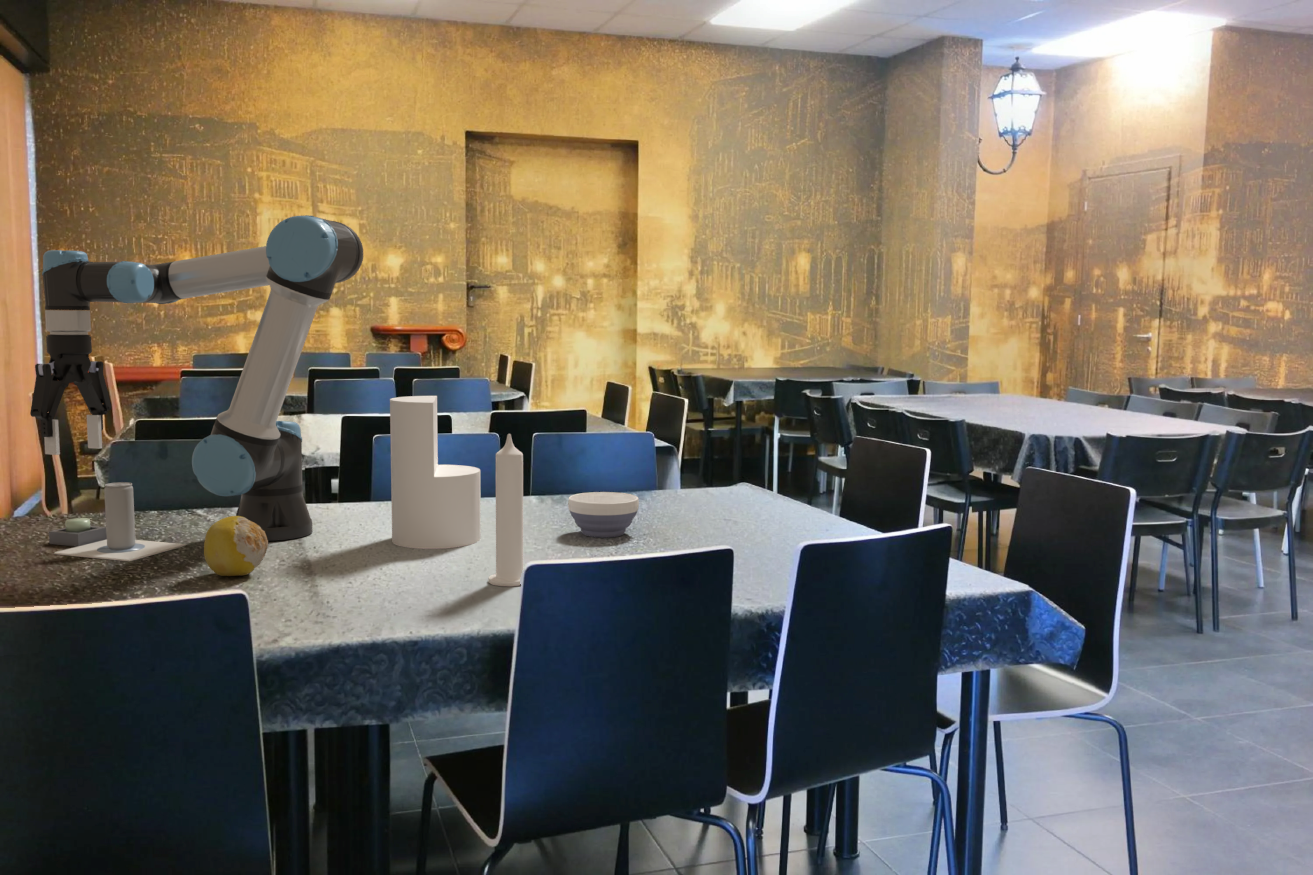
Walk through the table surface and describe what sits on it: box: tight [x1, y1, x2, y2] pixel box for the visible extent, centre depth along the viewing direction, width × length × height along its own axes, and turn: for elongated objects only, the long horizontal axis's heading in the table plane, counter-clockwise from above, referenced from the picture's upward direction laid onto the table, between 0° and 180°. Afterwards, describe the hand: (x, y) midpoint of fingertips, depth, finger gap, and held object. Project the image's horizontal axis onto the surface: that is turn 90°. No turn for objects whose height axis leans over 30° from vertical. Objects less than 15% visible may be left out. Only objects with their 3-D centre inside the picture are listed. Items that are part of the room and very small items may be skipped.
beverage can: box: [103, 481, 136, 550], centre depth 201 cm, size 5×5×12 cm
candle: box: [487, 433, 524, 587], centre depth 180 cm, size 7×7×25 cm
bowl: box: [567, 491, 640, 539], centre depth 221 cm, size 14×14×8 cm
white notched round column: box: [389, 395, 482, 550], centre depth 213 cm, size 17×17×28 cm
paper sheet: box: [53, 539, 186, 562], centre depth 202 cm, size 17×14×1 cm
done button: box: [64, 517, 91, 532], centre depth 208 cm, size 4×4×2 cm
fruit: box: [203, 515, 269, 577], centre depth 183 cm, size 10×11×10 cm
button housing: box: [48, 525, 107, 547], centre depth 208 cm, size 7×7×2 cm
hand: (74, 451), depth 206 cm, fingers open, 9 cm apart
